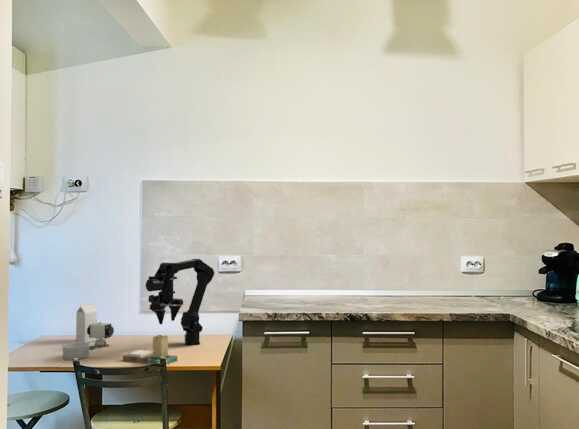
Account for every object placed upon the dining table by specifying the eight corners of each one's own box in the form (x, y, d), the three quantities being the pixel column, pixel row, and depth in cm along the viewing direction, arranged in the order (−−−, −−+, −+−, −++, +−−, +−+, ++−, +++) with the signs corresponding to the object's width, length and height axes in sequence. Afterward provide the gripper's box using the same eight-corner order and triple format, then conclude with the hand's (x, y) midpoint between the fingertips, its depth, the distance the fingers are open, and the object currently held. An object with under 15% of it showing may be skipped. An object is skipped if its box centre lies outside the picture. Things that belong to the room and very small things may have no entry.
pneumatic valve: (108, 348, 231) (108, 323, 232) (86, 347, 234) (86, 322, 234) (114, 345, 237) (115, 321, 237) (93, 344, 239) (93, 320, 239)
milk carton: (97, 340, 248) (97, 303, 248) (84, 343, 242) (85, 305, 242) (88, 339, 251) (88, 302, 252) (75, 341, 245) (76, 304, 246)
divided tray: (177, 360, 211) (177, 353, 211) (164, 366, 202) (164, 358, 202) (136, 355, 219) (136, 348, 219) (122, 360, 211) (122, 353, 211)
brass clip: (159, 360, 211) (159, 334, 212) (167, 361, 210) (167, 335, 210) (152, 362, 207) (153, 336, 208) (161, 363, 206) (161, 337, 206)
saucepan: (103, 360, 211) (103, 347, 211) (57, 361, 210) (57, 348, 211) (112, 353, 222) (112, 341, 223) (68, 354, 222) (68, 341, 222)
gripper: (165, 286, 241) (164, 317, 240) (140, 290, 223) (139, 324, 223) (184, 287, 237) (183, 319, 236) (160, 292, 219) (160, 326, 219)
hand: (166, 322), depth 229 cm, fingers open, 9 cm apart
